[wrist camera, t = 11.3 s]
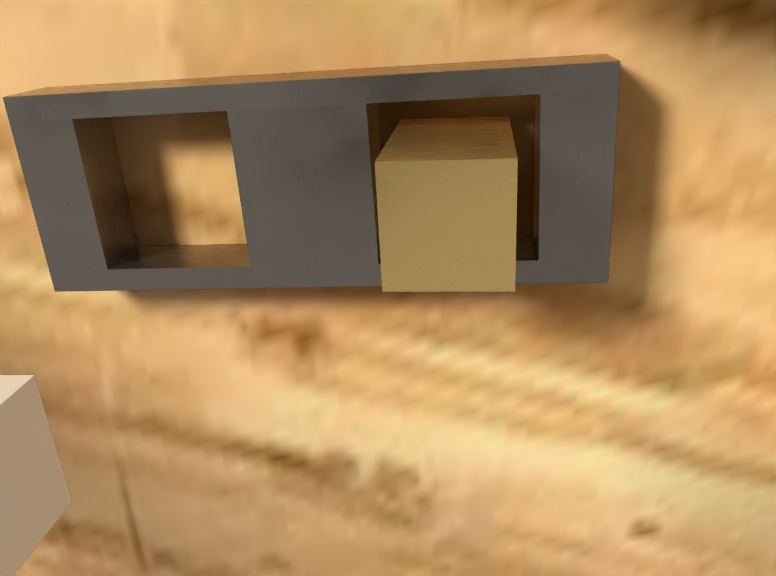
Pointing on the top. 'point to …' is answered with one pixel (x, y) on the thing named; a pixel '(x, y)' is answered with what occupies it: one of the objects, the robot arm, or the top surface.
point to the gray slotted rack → (310, 172)
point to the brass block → (448, 205)
